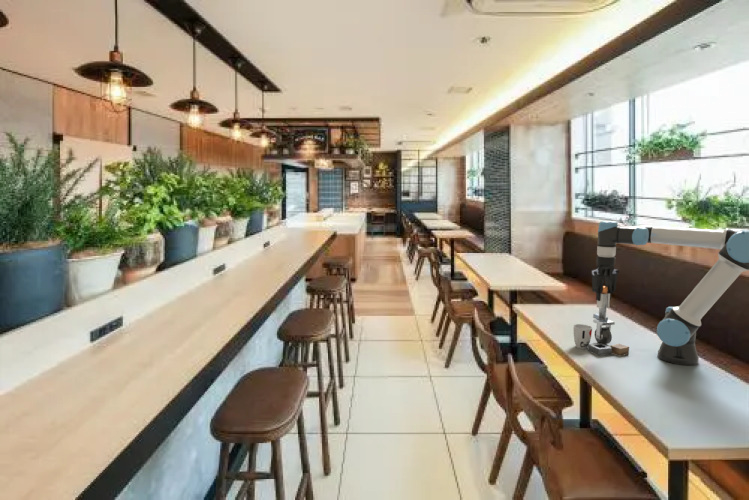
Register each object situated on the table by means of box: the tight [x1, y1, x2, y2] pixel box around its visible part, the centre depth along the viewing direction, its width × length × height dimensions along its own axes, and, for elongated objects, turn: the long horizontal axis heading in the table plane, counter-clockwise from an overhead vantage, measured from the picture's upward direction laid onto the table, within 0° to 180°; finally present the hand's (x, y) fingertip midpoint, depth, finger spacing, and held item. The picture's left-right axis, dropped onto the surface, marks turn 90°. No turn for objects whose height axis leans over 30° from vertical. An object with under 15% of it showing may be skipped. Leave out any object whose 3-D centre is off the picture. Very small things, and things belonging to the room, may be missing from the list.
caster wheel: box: [592, 313, 616, 345], centre depth 228 cm, size 10×7×13 cm
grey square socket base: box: [587, 342, 613, 357], centre depth 216 cm, size 7×7×3 cm
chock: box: [609, 343, 630, 357], centre depth 215 cm, size 5×6×4 cm
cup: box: [573, 323, 593, 350], centre depth 223 cm, size 8×8×10 cm
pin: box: [598, 285, 608, 320], centre depth 213 cm, size 3×3×15 cm
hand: (602, 307), depth 213 cm, fingers closed on pin, 3 cm apart
